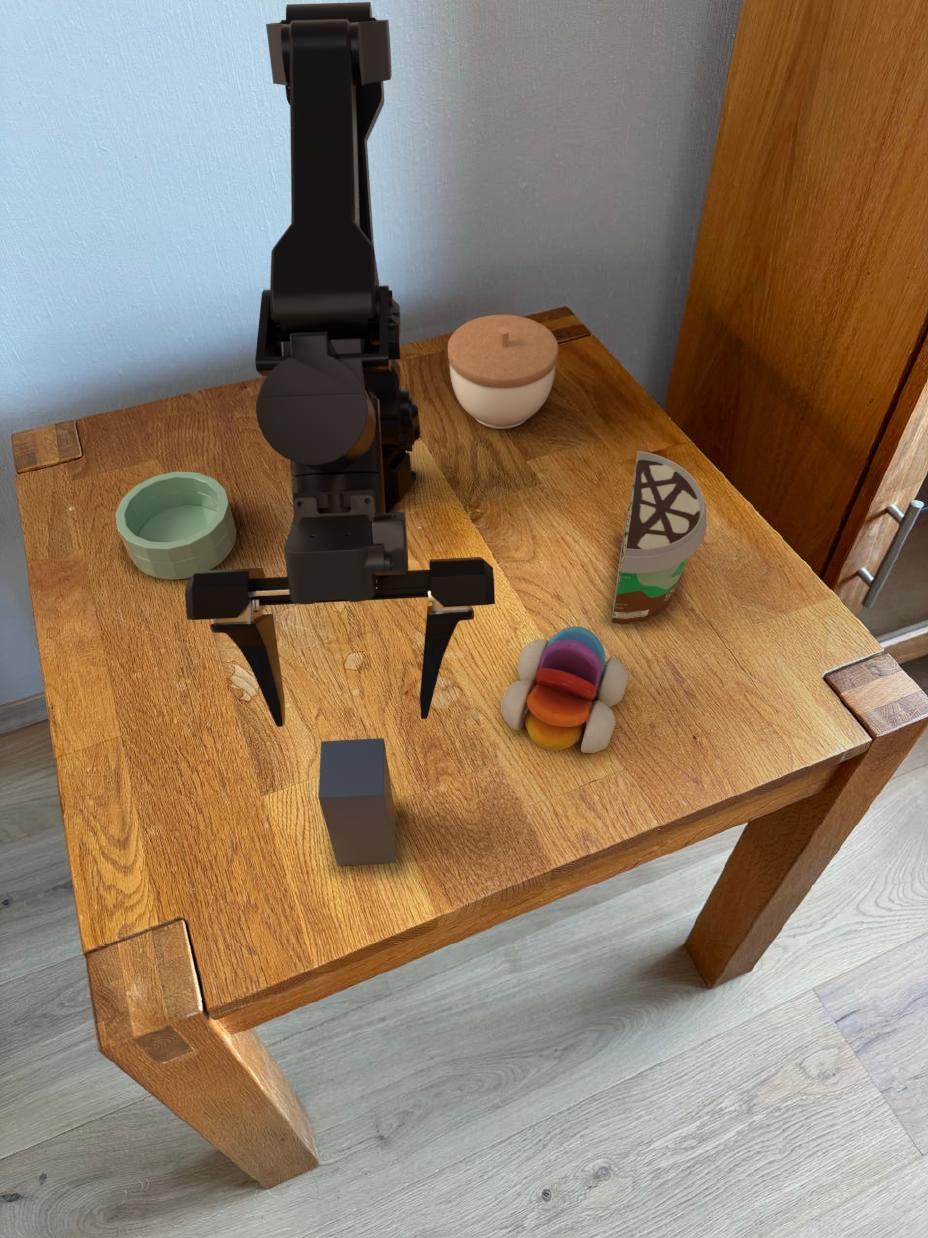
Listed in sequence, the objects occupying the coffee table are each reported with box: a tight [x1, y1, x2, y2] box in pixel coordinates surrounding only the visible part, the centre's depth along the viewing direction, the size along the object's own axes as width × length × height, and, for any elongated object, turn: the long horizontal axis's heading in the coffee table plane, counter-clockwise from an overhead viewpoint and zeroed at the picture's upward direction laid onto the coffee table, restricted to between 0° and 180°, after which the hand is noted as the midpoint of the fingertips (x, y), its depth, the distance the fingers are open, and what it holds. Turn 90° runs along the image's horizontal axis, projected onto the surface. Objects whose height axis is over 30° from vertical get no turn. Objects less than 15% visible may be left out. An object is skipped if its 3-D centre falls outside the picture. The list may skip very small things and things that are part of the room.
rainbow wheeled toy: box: [500, 625, 630, 754], centre depth 68 cm, size 8×10×7 cm
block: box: [317, 737, 396, 867], centre depth 61 cm, size 4×4×10 cm
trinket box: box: [447, 314, 559, 430], centre depth 91 cm, size 11×11×9 cm
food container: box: [610, 450, 708, 625], centre depth 75 cm, size 12×6×10 cm, turn 168°
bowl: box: [115, 470, 238, 581], centre depth 82 cm, size 10×10×4 cm
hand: (352, 721), depth 59 cm, fingers open, 9 cm apart
